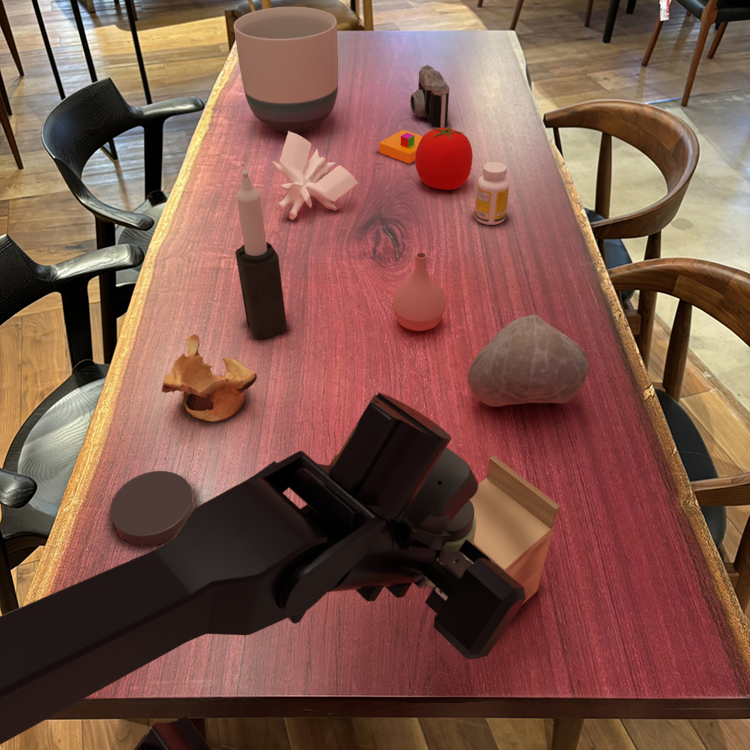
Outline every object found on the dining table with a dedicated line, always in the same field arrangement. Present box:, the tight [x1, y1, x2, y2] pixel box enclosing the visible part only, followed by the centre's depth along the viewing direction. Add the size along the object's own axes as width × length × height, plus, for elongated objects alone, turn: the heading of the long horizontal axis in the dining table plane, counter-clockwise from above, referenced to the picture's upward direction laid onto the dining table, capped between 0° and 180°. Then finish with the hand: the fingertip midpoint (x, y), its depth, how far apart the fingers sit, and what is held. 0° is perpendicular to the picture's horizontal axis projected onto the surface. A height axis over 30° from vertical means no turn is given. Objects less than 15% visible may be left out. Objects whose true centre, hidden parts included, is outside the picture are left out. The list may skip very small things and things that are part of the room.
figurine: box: [271, 131, 359, 221], centre depth 130 cm, size 15×12×14 cm
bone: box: [161, 333, 258, 424], centre depth 92 cm, size 12×10×8 cm
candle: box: [235, 169, 288, 341], centre depth 97 cm, size 5×5×25 cm
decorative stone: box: [467, 314, 590, 408], centre depth 88 cm, size 15×10×15 cm
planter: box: [233, 6, 339, 134], centre depth 149 cm, size 20×20×21 cm
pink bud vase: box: [391, 251, 447, 332], centre depth 102 cm, size 8×8×12 cm
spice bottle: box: [425, 499, 476, 588], centre depth 60 cm, size 5×5×8 cm
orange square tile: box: [378, 129, 424, 165], centre depth 146 cm, size 8×8×4 cm
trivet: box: [109, 470, 196, 547], centre depth 81 cm, size 9×9×2 cm
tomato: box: [414, 125, 474, 191], centre depth 133 cm, size 10×11×11 cm
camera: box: [410, 64, 450, 129], centre depth 157 cm, size 15×7×10 cm, turn 12°
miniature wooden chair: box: [470, 455, 561, 606], centre depth 69 cm, size 7×8×14 cm
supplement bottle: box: [474, 161, 510, 226], centre depth 124 cm, size 5×5×10 cm
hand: (454, 545), depth 62 cm, fingers closed on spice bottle, 5 cm apart
